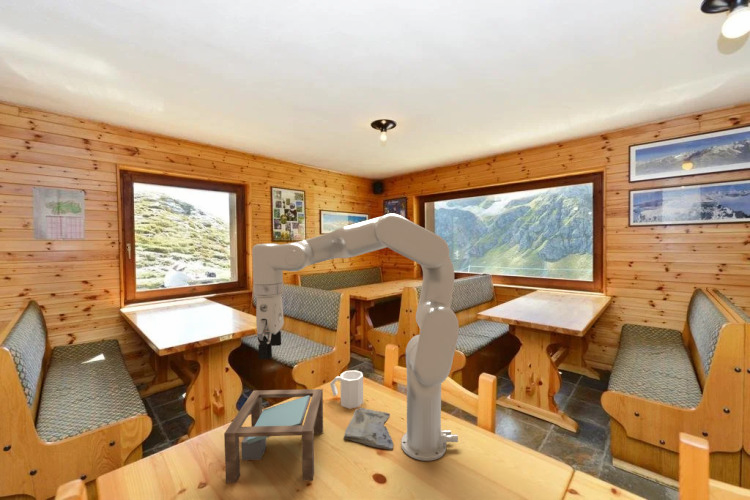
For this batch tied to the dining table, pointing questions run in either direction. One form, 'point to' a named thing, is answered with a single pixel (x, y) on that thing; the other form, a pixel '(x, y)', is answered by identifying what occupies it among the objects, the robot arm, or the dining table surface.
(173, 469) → the dining table surface
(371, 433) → the fossil rock
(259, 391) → the trapdoor frame
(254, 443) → the gray cube
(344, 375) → the mug
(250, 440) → the trapdoor
